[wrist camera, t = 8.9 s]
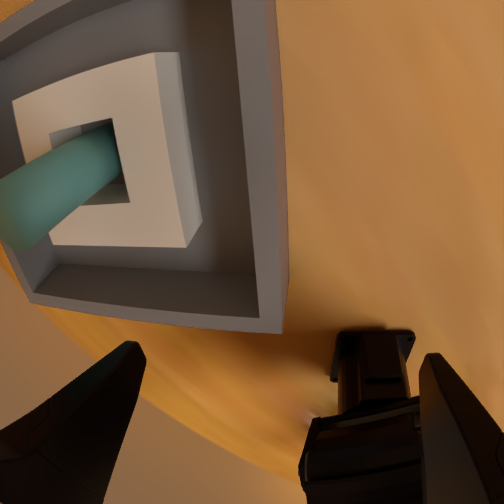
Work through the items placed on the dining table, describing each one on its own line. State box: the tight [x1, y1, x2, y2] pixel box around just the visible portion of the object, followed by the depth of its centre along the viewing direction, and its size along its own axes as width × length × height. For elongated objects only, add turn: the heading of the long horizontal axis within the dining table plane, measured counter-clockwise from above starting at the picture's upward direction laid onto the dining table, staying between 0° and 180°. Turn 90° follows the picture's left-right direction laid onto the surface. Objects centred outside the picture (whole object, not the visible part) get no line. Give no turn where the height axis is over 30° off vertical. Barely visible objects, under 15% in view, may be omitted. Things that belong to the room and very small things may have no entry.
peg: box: [0, 122, 123, 252], centre depth 14 cm, size 3×3×9 cm
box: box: [0, 0, 289, 334], centre depth 16 cm, size 20×20×5 cm
